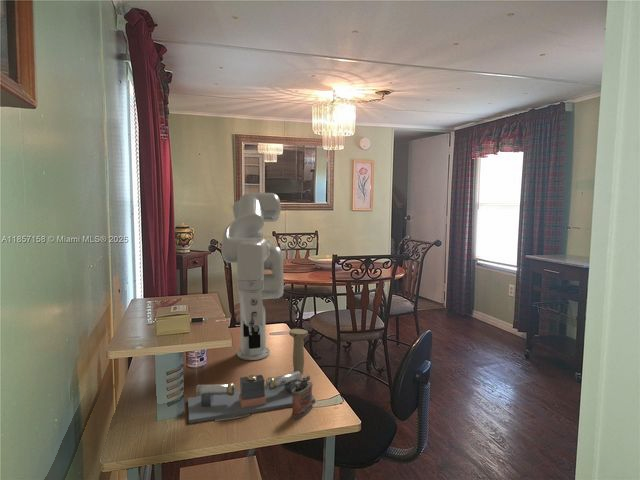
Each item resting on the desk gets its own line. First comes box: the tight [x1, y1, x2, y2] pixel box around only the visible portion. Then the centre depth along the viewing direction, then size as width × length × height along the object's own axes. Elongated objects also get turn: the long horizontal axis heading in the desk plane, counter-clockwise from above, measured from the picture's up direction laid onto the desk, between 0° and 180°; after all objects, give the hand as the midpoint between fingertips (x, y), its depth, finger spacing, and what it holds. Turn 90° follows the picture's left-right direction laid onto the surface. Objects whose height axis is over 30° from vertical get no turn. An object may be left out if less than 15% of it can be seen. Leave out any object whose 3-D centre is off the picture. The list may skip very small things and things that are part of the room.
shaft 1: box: [195, 382, 236, 407], centre depth 121 cm, size 11×4×7 cm, turn 94°
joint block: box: [239, 374, 265, 400], centre depth 121 cm, size 4×6×6 cm, turn 108°
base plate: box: [187, 385, 316, 424], centre depth 123 cm, size 13×36×3 cm, turn 109°
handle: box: [288, 328, 309, 375], centre depth 143 cm, size 5×6×15 cm
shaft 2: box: [265, 371, 303, 394], centre depth 127 cm, size 11×4×7 cm, turn 124°
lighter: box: [291, 374, 314, 420], centre depth 117 cm, size 8×3×10 cm, turn 147°
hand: (251, 341), depth 120 cm, fingers open, 9 cm apart
